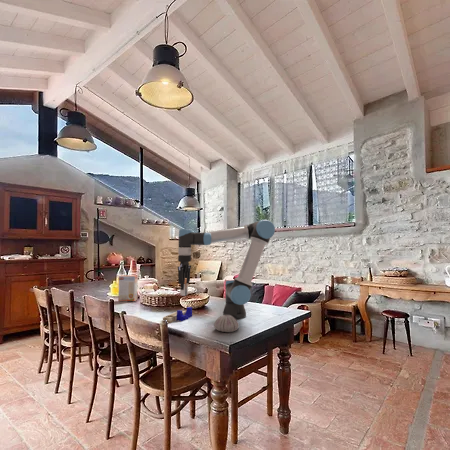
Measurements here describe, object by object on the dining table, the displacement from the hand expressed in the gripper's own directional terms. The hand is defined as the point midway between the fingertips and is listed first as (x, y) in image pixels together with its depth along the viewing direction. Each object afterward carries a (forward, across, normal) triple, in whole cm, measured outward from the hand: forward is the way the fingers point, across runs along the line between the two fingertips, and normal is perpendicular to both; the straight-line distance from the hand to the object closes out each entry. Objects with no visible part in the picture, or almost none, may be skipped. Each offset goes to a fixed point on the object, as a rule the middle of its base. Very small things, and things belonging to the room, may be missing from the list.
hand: (183, 294), depth 173 cm
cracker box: (+18, +49, +76) cm, 92 cm away
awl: (0, 0, 0) cm, 0 cm away
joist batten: (+17, +9, +10) cm, 22 cm away
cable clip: (+17, +12, +5) cm, 22 cm away
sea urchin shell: (+17, -3, -28) cm, 33 cm away
